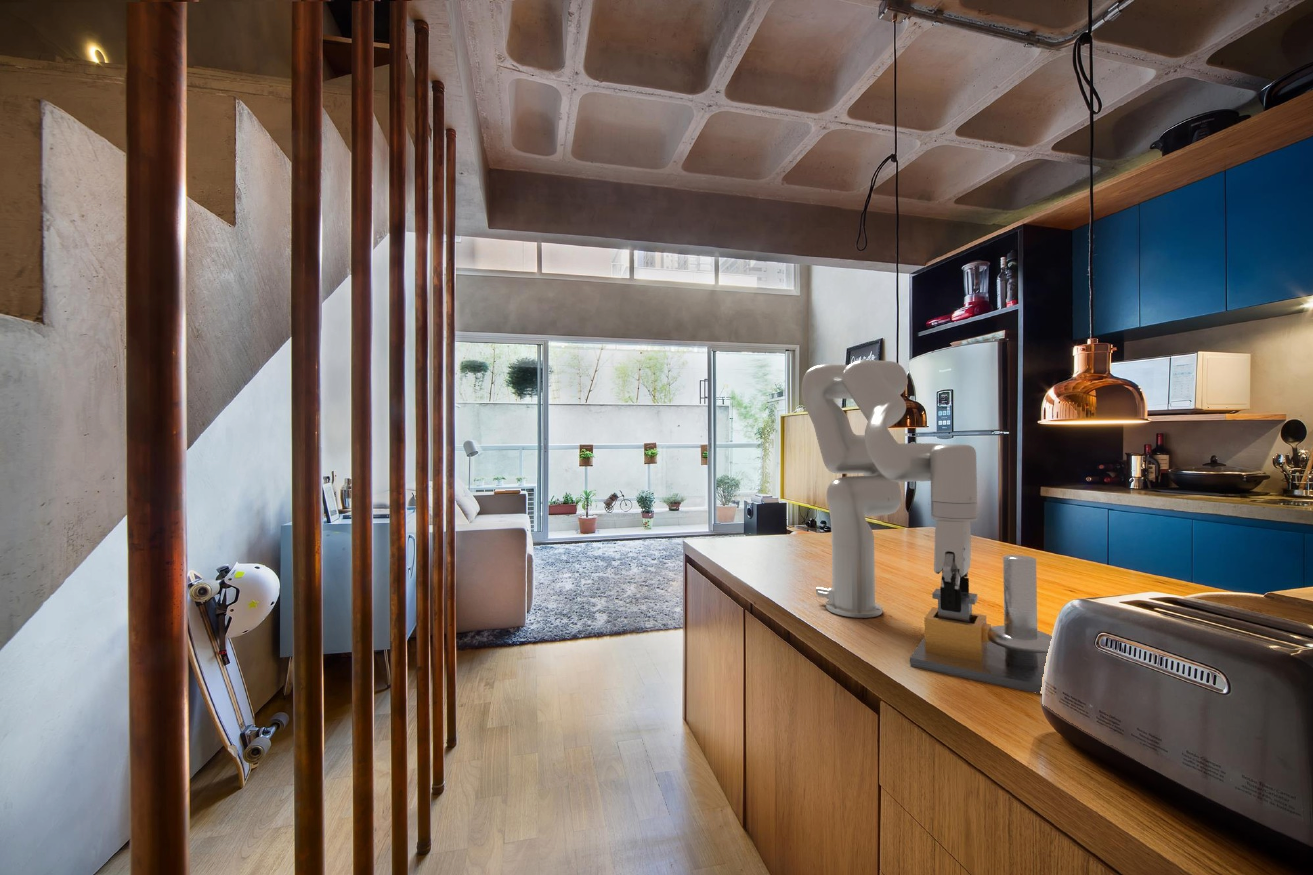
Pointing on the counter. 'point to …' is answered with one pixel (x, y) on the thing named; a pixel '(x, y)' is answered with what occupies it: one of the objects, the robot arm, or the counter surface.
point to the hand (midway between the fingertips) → (955, 604)
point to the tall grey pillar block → (966, 607)
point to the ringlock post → (992, 637)
